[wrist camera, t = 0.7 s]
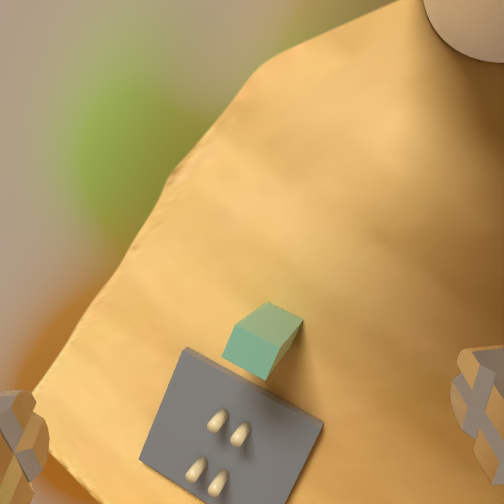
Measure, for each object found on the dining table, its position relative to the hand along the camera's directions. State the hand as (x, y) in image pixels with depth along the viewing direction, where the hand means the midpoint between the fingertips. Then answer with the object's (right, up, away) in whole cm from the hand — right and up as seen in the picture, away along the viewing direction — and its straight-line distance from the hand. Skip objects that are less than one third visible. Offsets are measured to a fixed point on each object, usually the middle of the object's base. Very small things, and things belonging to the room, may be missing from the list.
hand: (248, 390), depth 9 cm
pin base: (-3, -17, +39) cm, 43 cm away
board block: (+3, -5, +36) cm, 37 cm away
